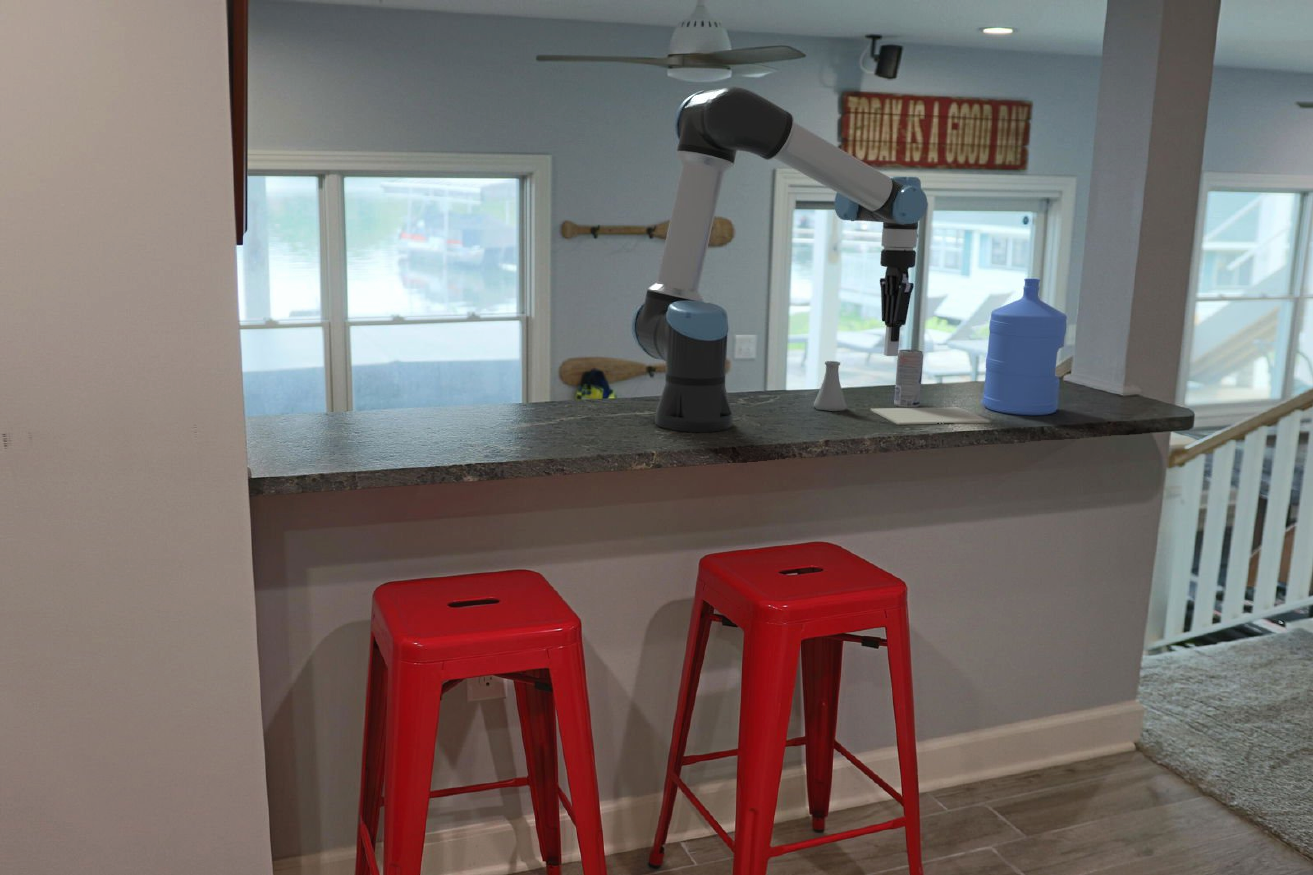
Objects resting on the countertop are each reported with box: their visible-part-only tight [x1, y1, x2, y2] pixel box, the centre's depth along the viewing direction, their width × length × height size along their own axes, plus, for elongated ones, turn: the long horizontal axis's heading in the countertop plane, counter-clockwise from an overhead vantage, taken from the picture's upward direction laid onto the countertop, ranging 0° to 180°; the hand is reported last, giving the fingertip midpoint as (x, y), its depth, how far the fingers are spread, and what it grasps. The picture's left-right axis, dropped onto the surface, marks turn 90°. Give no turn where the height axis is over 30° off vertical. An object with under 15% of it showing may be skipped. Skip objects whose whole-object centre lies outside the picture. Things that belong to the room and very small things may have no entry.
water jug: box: [981, 278, 1068, 416], centre depth 237 cm, size 16×16×28 cm
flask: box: [812, 360, 848, 412], centre depth 234 cm, size 7×7×10 cm
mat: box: [870, 406, 991, 426], centre depth 229 cm, size 20×14×1 cm
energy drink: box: [893, 349, 924, 408], centre depth 238 cm, size 5×5×12 cm
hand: (891, 355), depth 247 cm, fingers closed
